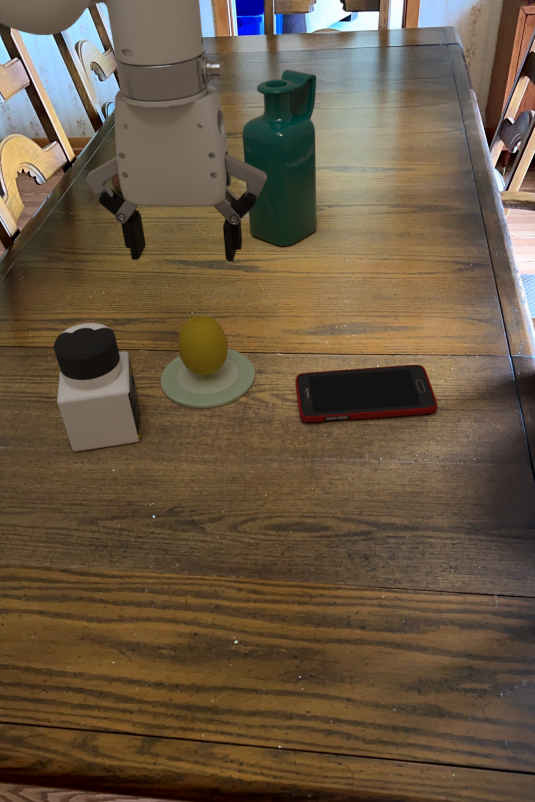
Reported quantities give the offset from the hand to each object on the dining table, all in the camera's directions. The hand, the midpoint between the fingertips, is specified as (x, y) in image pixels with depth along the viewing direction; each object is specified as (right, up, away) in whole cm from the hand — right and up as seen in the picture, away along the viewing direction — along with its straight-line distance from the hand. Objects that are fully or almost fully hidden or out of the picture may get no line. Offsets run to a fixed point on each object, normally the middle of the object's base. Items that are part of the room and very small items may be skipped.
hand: (185, 254), depth 73 cm
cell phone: (+19, -15, +6) cm, 25 cm away
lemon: (+1, -12, +10) cm, 16 cm away
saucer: (+2, -12, +10) cm, 16 cm away
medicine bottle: (-9, -18, +5) cm, 21 cm away
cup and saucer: (-13, +23, +54) cm, 60 cm away
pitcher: (+11, +11, +38) cm, 41 cm away
